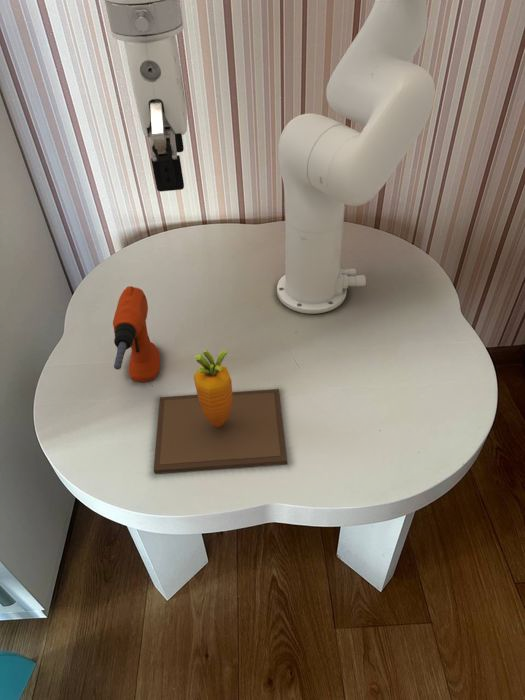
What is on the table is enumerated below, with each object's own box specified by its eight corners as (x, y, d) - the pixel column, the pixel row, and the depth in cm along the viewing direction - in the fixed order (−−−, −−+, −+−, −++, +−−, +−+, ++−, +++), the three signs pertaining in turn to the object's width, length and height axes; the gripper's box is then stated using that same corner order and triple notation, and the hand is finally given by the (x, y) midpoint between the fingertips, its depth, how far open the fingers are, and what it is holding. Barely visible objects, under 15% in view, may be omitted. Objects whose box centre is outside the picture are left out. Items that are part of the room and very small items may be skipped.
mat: (278, 392, 86) (278, 388, 85) (286, 464, 77) (286, 460, 76) (160, 400, 86) (159, 396, 85) (154, 473, 76) (153, 469, 76)
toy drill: (116, 435, 79) (92, 351, 70) (133, 354, 94) (115, 275, 85) (151, 433, 79) (132, 348, 70) (162, 352, 94) (148, 273, 85)
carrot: (238, 413, 82) (231, 339, 72) (233, 441, 79) (225, 367, 68) (204, 411, 82) (192, 337, 72) (198, 439, 79) (185, 365, 68)
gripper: (181, 38, 52) (203, 203, 64) (181, -9, 64) (199, 137, 77) (100, 45, 52) (137, 209, 64) (115, -4, 64) (144, 141, 76)
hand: (171, 169), depth 70 cm, fingers open, 9 cm apart
